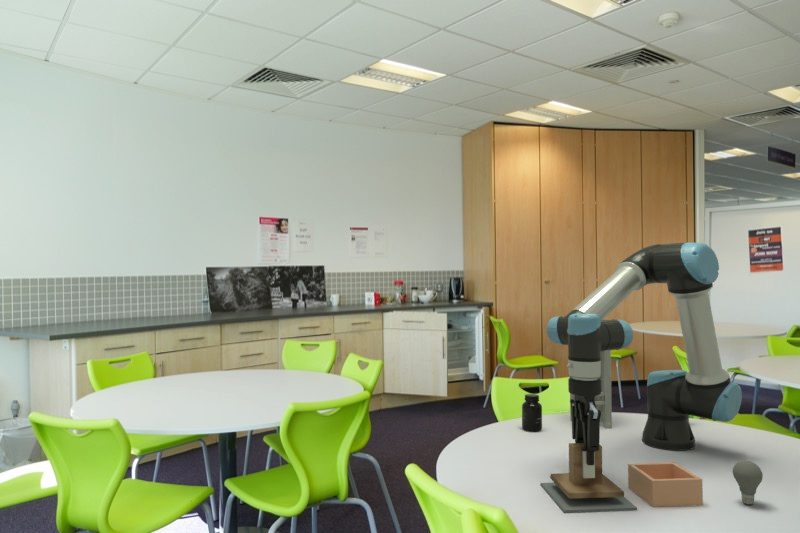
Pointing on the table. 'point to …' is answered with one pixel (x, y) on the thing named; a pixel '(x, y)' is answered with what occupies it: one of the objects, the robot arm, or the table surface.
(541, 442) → the table surface
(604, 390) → the stool
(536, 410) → the supplement bottle
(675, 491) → the open tan tray
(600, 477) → the lid
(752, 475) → the light bulb
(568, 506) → the mat
